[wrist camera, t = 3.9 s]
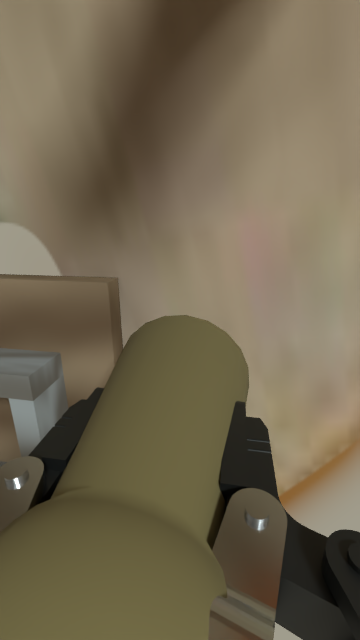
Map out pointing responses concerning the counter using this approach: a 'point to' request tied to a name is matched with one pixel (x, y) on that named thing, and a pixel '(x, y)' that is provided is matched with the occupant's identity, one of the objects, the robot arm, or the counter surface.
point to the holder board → (52, 351)
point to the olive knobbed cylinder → (133, 500)
